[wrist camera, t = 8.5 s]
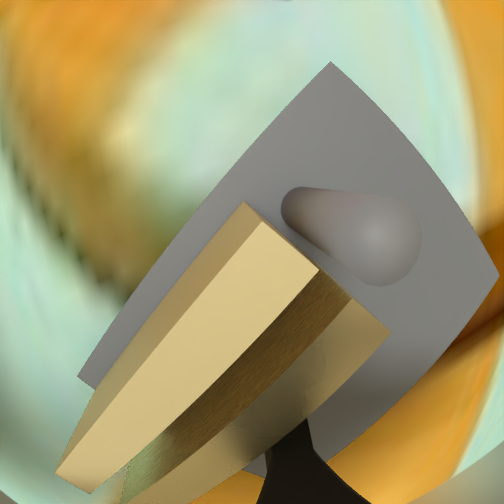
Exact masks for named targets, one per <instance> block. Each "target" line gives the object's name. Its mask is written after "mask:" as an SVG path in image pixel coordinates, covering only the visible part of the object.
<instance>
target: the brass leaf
mask: <svg viewBox="0 0 504 504" xmlns="http://www.w3.org/2000/svg"><path fill="white" fill-rule="evenodd" d="M292 244H293V245H294V246H295V247H296V248H297V249H298V250H299V251H300V252H301V253H302V254H303V255H304V256H305V257H307V258H308V259H309V260H310V261H311V262H312V263H313V264H314V265H315V266H316V267H317V268H318V269H319V271H318V272H317V273H316V274H315V275H314V276H313V278H312V279H311V280H310V281H309V282H308V283H307V284H306V286H305V287H304V288H303V289H302V290H301V291H300V292H299V293H298V294H297V296H296V297H295V298H294V299H293V300H292V301H291V302H290V303H289V304H288V306H287V307H286V308H285V309H284V310H283V311H282V312H281V313H280V314H279V315H278V316H277V318H276V319H275V320H274V321H273V322H272V323H271V324H270V325H269V326H268V327H267V328H266V329H265V330H264V331H263V333H262V334H261V335H260V336H259V337H258V338H257V339H256V340H255V341H254V342H253V343H252V344H251V345H250V346H249V347H248V348H247V349H246V350H245V351H244V352H243V353H242V354H241V355H240V357H239V358H238V359H237V360H236V361H235V362H234V363H233V364H232V365H231V366H230V367H229V368H228V369H227V370H226V371H225V372H224V373H223V374H222V375H221V376H220V377H219V378H218V379H217V380H216V381H215V382H214V383H213V384H212V385H211V386H210V387H209V388H208V389H207V390H206V391H205V392H204V393H203V394H202V395H200V396H199V397H198V398H197V399H196V400H195V401H194V402H193V403H192V404H191V405H190V406H189V407H188V408H187V409H186V410H185V411H184V412H183V413H182V414H181V415H180V416H179V417H177V418H176V419H175V420H174V421H173V422H172V423H171V424H170V425H169V426H168V427H167V428H166V429H165V430H163V431H162V432H161V433H160V434H159V435H158V436H157V437H156V438H155V439H154V440H152V441H151V442H150V443H149V444H148V445H147V446H146V447H145V448H144V449H142V450H141V451H140V452H139V453H138V454H137V455H136V456H134V457H133V458H132V459H131V461H130V465H129V468H128V472H127V476H126V480H125V484H124V488H123V492H122V496H121V501H120V504H188V503H190V502H192V501H193V500H195V499H197V498H198V497H200V496H202V495H203V494H205V493H206V492H208V491H210V490H211V489H213V488H214V487H216V486H217V485H219V484H220V483H222V482H223V481H225V480H226V479H228V478H229V477H231V476H232V475H234V474H235V473H237V472H238V471H239V470H241V469H242V468H244V467H245V466H246V465H248V464H249V463H251V462H252V461H253V460H255V459H256V458H257V457H259V456H260V455H261V454H263V453H264V452H265V451H267V450H268V449H269V448H270V447H272V446H273V445H274V444H276V443H277V442H278V441H279V440H281V439H282V438H283V437H284V436H286V435H287V434H288V433H289V432H290V431H292V430H293V429H294V428H295V427H296V426H298V425H299V424H300V423H301V422H302V421H303V420H305V419H306V418H307V417H308V416H309V415H310V414H311V413H312V412H314V411H315V410H316V409H317V408H318V407H319V406H320V405H321V404H322V403H324V402H325V401H326V400H327V399H328V398H329V397H330V396H331V395H332V394H333V393H334V392H335V391H336V390H337V389H338V388H339V387H340V386H341V385H342V384H343V383H344V382H345V381H347V380H348V379H349V378H350V377H351V376H352V374H353V373H354V372H355V371H356V370H357V369H358V368H359V367H360V366H361V365H362V364H363V363H364V362H365V361H366V360H367V359H368V358H369V357H370V356H371V355H372V354H373V353H374V351H375V350H376V349H377V348H378V347H379V346H380V345H381V344H382V343H383V341H384V340H385V339H386V338H387V337H388V336H389V335H390V334H391V331H390V330H389V329H388V328H387V327H386V326H385V325H384V324H382V323H381V322H380V321H379V320H378V319H377V318H376V317H375V316H374V315H373V314H372V313H371V312H370V311H369V310H368V309H367V308H366V307H365V306H364V305H363V304H362V303H361V302H359V301H358V300H357V299H356V298H355V297H354V296H353V295H352V294H351V293H350V292H349V291H348V290H347V289H346V288H345V287H343V286H342V285H341V284H340V283H339V282H338V281H337V280H336V279H335V278H334V277H333V276H332V275H331V274H329V273H328V272H327V271H326V270H325V269H324V268H323V267H322V266H321V265H320V264H318V263H317V262H316V261H315V260H314V259H313V258H311V257H310V256H309V255H308V254H307V253H305V252H304V251H303V250H302V249H301V248H299V247H298V246H297V245H296V244H295V243H292Z"/></svg>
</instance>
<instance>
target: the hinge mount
mask: <svg viewBox="0 0 504 504" xmlns="http://www.w3.org/2000/svg"><path fill="white" fill-rule="evenodd" d="M292 243H295V244H296V245H297V246H298V247H299V248H301V249H302V250H303V251H304V252H305V253H307V254H308V255H309V256H310V257H311V258H313V259H314V260H315V261H316V262H317V263H318V264H320V265H321V266H322V267H323V268H324V269H325V270H326V271H327V272H328V273H329V274H331V275H332V276H333V277H334V278H335V279H336V280H337V281H338V282H339V283H340V284H341V285H342V286H343V287H345V288H346V289H347V290H348V291H349V292H350V293H351V294H352V295H353V296H354V297H355V298H356V299H357V300H358V301H359V302H361V303H362V304H363V305H364V306H365V307H366V308H367V309H368V310H369V311H370V312H371V313H372V314H373V315H374V316H375V317H376V318H377V319H378V320H379V321H380V322H381V323H382V324H384V325H385V326H386V327H387V328H388V329H389V330H390V331H391V334H390V335H389V336H388V337H387V338H386V339H385V340H384V341H383V343H382V344H381V345H380V346H379V347H378V348H377V349H376V350H375V351H374V353H373V354H372V355H371V356H370V357H369V358H368V359H367V360H366V361H365V362H364V363H363V364H362V365H361V366H360V367H359V368H358V369H357V370H356V371H355V372H354V373H353V374H352V376H351V377H350V378H349V379H348V380H347V381H345V382H344V383H343V384H342V385H341V386H340V387H339V388H338V389H337V390H336V391H335V392H334V393H333V394H332V395H331V396H330V397H329V398H328V399H327V400H326V401H325V402H324V403H322V404H321V405H320V406H319V407H318V408H317V409H316V410H315V411H314V412H312V413H311V414H310V415H309V416H308V417H307V419H308V424H309V429H310V434H311V439H312V443H313V448H314V450H315V451H316V452H317V454H318V455H319V456H320V457H321V458H322V459H323V461H324V462H327V461H328V460H329V459H331V458H332V457H333V456H335V455H336V454H337V453H339V452H340V451H341V450H342V449H344V448H345V447H346V446H348V445H349V444H350V443H351V442H352V441H354V440H355V439H356V438H357V437H359V436H360V435H361V434H362V433H363V432H365V431H366V430H367V429H368V428H369V427H370V426H372V425H373V424H374V423H375V422H376V421H377V420H378V419H379V418H381V417H382V416H383V415H384V414H385V413H386V412H387V411H388V410H389V409H390V408H391V407H392V406H393V405H394V404H396V403H397V402H398V401H399V400H400V399H401V398H402V397H403V396H404V395H405V394H406V393H407V392H408V391H409V390H410V389H411V388H412V387H413V386H414V385H415V384H416V382H417V381H418V380H419V379H420V378H421V377H422V376H423V375H424V374H425V373H426V372H427V371H428V370H429V368H430V367H431V366H432V365H433V364H434V363H435V362H436V361H437V359H438V358H439V357H440V356H441V355H442V354H443V352H444V351H445V350H446V349H447V348H448V346H449V345H450V344H451V343H452V342H453V340H454V339H455V338H456V337H457V335H458V334H459V333H460V332H461V330H462V329H463V328H464V326H465V325H466V324H467V322H468V321H469V320H470V318H471V317H472V316H473V314H474V313H475V312H476V310H477V309H478V307H479V306H480V305H481V303H482V302H483V300H484V299H485V297H486V296H487V294H488V293H489V291H490V290H491V288H492V287H493V285H494V284H495V282H496V281H497V279H498V277H499V276H500V275H499V273H498V271H497V269H496V267H495V265H494V264H493V262H492V260H491V258H490V256H489V254H488V253H487V251H486V249H485V247H484V246H483V244H482V242H481V241H480V239H479V237H478V236H477V234H476V232H475V231H474V229H473V227H472V226H471V224H470V223H469V221H468V219H467V218H466V216H465V215H464V213H463V212H462V210H461V209H460V207H459V206H458V204H457V203H456V201H455V200H454V198H453V197H452V195H451V194H450V193H449V191H448V190H447V188H446V187H445V186H444V184H443V183H442V182H441V180H440V179H439V177H438V176H437V175H436V173H435V172H434V171H433V170H432V168H431V167H430V166H429V164H428V163H427V162H426V161H425V159H424V158H423V157H422V156H421V154H420V153H419V152H418V151H417V149H416V148H415V147H414V146H413V145H412V143H411V142H410V141H409V140H408V139H407V138H406V136H405V135H404V134H403V133H402V132H401V131H400V130H399V128H398V127H397V126H396V125H395V124H394V123H393V122H392V121H391V120H390V119H389V117H388V116H387V115H386V114H385V113H384V112H383V111H382V110H381V109H380V108H379V107H378V106H377V105H376V104H375V103H374V102H373V101H372V100H371V99H370V98H369V97H368V96H367V95H366V94H365V93H364V92H363V91H362V90H361V89H360V88H359V87H358V86H357V85H356V84H355V83H354V82H353V81H352V80H351V79H350V78H349V77H347V76H346V75H345V74H344V73H343V72H342V71H341V70H340V69H339V68H338V67H336V66H335V65H334V64H333V63H332V62H331V61H330V62H329V63H328V64H327V65H326V66H325V67H324V68H323V69H322V70H321V71H320V72H319V73H318V74H317V75H316V76H315V77H314V78H313V80H312V81H311V82H310V83H309V84H308V85H307V86H306V87H305V88H304V89H303V90H302V91H301V92H300V93H299V94H298V95H297V96H296V97H295V98H294V99H293V100H292V101H291V102H290V103H289V105H288V106H287V107H286V108H285V109H284V110H283V111H282V112H281V113H280V114H279V115H278V116H277V117H276V118H275V120H274V121H273V122H272V123H271V124H270V125H269V126H268V127H267V128H266V129H265V131H264V132H263V133H262V134H261V135H260V136H259V137H258V138H257V139H256V141H255V142H254V143H253V144H252V145H251V146H250V147H249V148H248V150H247V151H246V152H245V153H244V154H243V155H242V156H241V158H240V159H239V160H238V161H237V162H236V163H235V165H234V166H233V167H232V168H231V169H230V170H229V172H228V173H227V174H226V175H225V176H224V177H223V179H222V180H221V181H220V182H219V183H218V185H217V186H216V187H215V188H214V189H213V191H212V192H211V193H210V194H209V195H208V197H207V198H206V199H205V200H204V202H203V203H202V204H201V205H200V206H199V208H198V209H197V210H196V211H195V213H194V214H193V215H192V216H191V218H190V219H189V220H188V221H187V223H186V224H185V225H184V226H183V228H182V229H181V230H180V232H179V233H178V234H177V235H176V237H175V238H174V239H173V240H172V242H171V243H170V244H169V246H168V247H167V248H166V250H165V251H164V252H163V254H162V255H161V256H160V257H159V259H158V260H157V261H156V263H155V264H154V265H153V267H152V268H151V269H150V271H149V272H148V273H147V275H146V276H145V278H144V279H143V280H142V282H141V283H140V284H139V286H138V287H137V289H136V290H135V291H134V293H133V294H132V295H131V297H130V298H129V300H128V301H127V302H126V304H125V305H124V307H123V308H122V310H121V311H120V312H119V314H118V315H117V317H116V318H115V320H114V321H113V322H112V324H111V325H110V327H109V328H108V330H107V331H106V333H105V334H104V336H103V337H102V339H101V340H100V342H99V343H98V345H97V346H96V348H95V349H94V351H93V352H92V354H91V355H90V357H89V358H88V360H87V361H86V363H85V364H84V366H83V368H82V369H81V371H80V372H79V374H78V375H77V377H78V378H80V379H81V380H82V381H84V382H85V383H86V384H88V385H89V386H91V387H92V388H93V389H95V392H94V394H93V396H92V398H91V399H90V401H89V403H88V405H87V407H86V409H85V411H84V413H83V415H82V417H81V419H80V421H79V423H78V425H77V427H76V429H75V431H74V433H73V435H72V437H71V439H70V441H69V443H68V445H67V447H66V449H65V452H64V454H63V456H62V458H61V460H60V462H59V464H58V467H57V469H56V471H55V474H56V475H58V476H59V477H61V478H63V479H64V480H66V481H68V482H69V483H71V484H73V485H74V486H76V487H78V488H80V489H81V490H83V491H85V492H87V493H89V494H90V493H92V492H93V491H94V490H95V489H97V488H98V487H99V486H100V485H101V484H103V483H104V482H105V481H106V480H108V479H109V478H110V477H111V476H112V475H113V474H115V473H116V472H117V471H118V470H119V469H121V468H122V467H123V466H124V465H125V464H126V463H128V462H129V461H130V460H131V459H132V458H133V457H134V456H136V455H137V454H138V453H139V452H140V451H141V450H142V449H144V448H145V447H146V446H147V445H148V444H149V443H150V442H151V441H152V440H154V439H155V438H156V437H157V436H158V435H159V434H160V433H161V432H162V431H163V430H165V429H166V428H167V427H168V426H169V425H170V424H171V423H172V422H173V421H174V420H175V419H176V418H177V417H179V416H180V415H181V414H182V413H183V412H184V411H185V410H186V409H187V408H188V407H189V406H190V405H191V404H192V403H193V402H194V401H195V400H196V399H197V398H198V397H199V396H200V395H202V394H203V393H204V392H205V391H206V390H207V389H208V388H209V387H210V386H211V385H212V384H213V383H214V382H215V381H216V380H217V379H218V378H219V377H220V376H221V375H222V374H223V373H224V372H225V371H226V370H227V369H228V368H229V367H230V366H231V365H232V364H233V363H234V362H235V361H236V360H237V359H238V358H239V357H240V355H241V354H242V353H243V352H244V351H245V350H246V349H247V348H248V347H249V346H250V345H251V344H252V343H253V342H254V341H255V340H256V339H257V338H258V337H259V336H260V335H261V334H262V333H263V331H264V330H265V329H266V328H267V327H268V326H269V325H270V324H271V323H272V322H273V321H274V320H275V319H276V318H277V316H278V315H279V314H280V313H281V312H282V311H283V310H284V309H285V308H286V307H287V306H288V304H289V303H290V302H291V301H292V300H293V299H294V298H295V297H296V296H297V294H298V293H299V292H300V291H301V290H302V289H303V288H304V287H305V286H306V284H307V283H308V282H309V281H310V280H311V279H312V278H313V276H314V275H315V274H316V273H317V272H318V271H319V269H318V268H317V267H316V266H315V265H314V264H313V263H312V262H311V261H310V260H309V259H308V258H307V257H305V256H304V255H303V254H302V253H301V252H300V251H299V250H298V249H297V248H296V247H295V246H294V245H293V244H292ZM242 470H245V471H247V472H250V473H253V474H255V475H258V476H261V477H264V478H266V474H267V468H266V460H265V452H264V453H263V454H261V455H260V456H259V457H257V458H256V459H255V460H253V461H252V462H251V463H249V464H248V465H246V466H245V467H244V468H242Z"/></svg>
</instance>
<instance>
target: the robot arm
mask: <svg viewBox="0 0 504 504" xmlns="http://www.w3.org/2000/svg"><path fill="white" fill-rule="evenodd" d="M265 460H266V468H267V474H266V478H265V481H264V484H263V487H262V490H261V493H260V495H259V498H258V500H257V503H256V504H371V503H370V502H369V501H367V500H366V499H365V498H363V497H362V496H361V495H359V494H358V493H357V492H356V491H355V490H353V489H352V488H351V487H350V486H349V485H347V484H346V483H345V482H344V481H343V480H342V479H341V478H340V477H339V476H338V475H337V474H336V473H335V472H334V471H333V470H332V469H331V468H330V467H329V466H328V465H327V464H326V463H325V462H324V461H323V459H322V458H321V457H320V456H319V455H318V454H317V452H316V451H315V450H314V448H313V443H312V439H311V434H310V429H309V424H308V419H307V418H306V419H305V420H303V421H302V422H301V423H300V424H299V425H298V426H296V427H295V428H294V429H293V430H292V431H290V432H289V433H288V434H287V435H286V436H284V437H283V438H282V439H281V440H279V441H278V442H277V443H276V444H274V445H273V446H272V447H270V448H269V449H268V450H267V451H265Z"/></svg>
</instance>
